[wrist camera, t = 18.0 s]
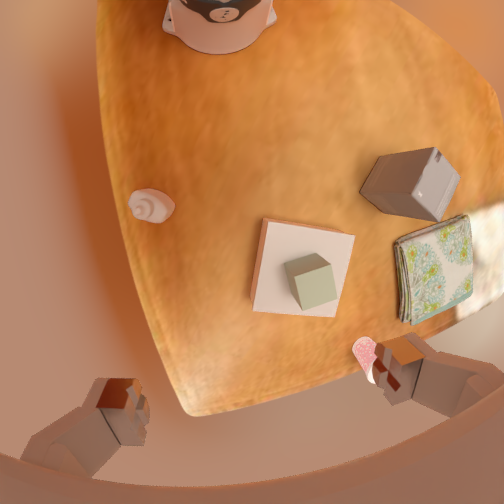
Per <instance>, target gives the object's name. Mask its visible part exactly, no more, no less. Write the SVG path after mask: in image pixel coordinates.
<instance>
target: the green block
mask: <svg viewBox="0 0 504 504" xmlns="http://www.w3.org/2000/svg"><path fill="white" fill-rule="evenodd" d="M284 266H285V270H286V274H287V278H288V282H289V286H290V290H291V294H292V295H293V297H294V298H295V300H296V302H297V303H298V305H299V306H300V308H301V309H302V311H304V310H307V309H310V308H313V307H316V306H319V305H322V304H324V303H327V302H330V301H333V300H336V299H338V298H337V292H336V287H335V281H334V276H333V271H332V266H331V264H330V263H329V262H328V261H326V260H325V259H324V258H322V257H321V256H320V255H319V254H317V253H313V254H310V255H307V256H304V257H301V258H298V259H294V260H291V261H288V262H285V263H284Z"/></svg>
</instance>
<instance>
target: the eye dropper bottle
mask: <svg viewBox="0 0 504 504" xmlns="http://www.w3.org/2000/svg"><path fill="white" fill-rule="evenodd" d="M128 205H129V207H130V209H131V210H132V214H133V215H134V217H135V218H137V219H139V220H145V221H148V222H152V223H162V222H164V221H165V220H166V219H167V218H169V217H170V216H171V214H172V213H173V211H174V209H175V203H174V202H173V201H172V199H171V198H170V197H168V196H167V195H166V194H164V193H163V192H161V191H158V190H155V189H150V188H147V189H141V190H136V191H134V192H133V193H132V194H131V196H130V198H129V200H128Z"/></svg>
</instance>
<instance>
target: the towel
mask: <svg viewBox="0 0 504 504" xmlns="http://www.w3.org/2000/svg"><path fill="white" fill-rule="evenodd" d="M395 242H396V245H395V246H394V249H395V256H396V265H397V276H398V286H399V294H400V308H399V311H400V312H399V318H400V320H401V322H402V323H404V322H405V323H406V322H409V321H411V323H410V325H411V326H413V325H416V324H418V323H420V322H422V321H424V320H426V319H428V318H430V317H432V316H434V315H436V314H438V313H440V312H443V311H445V310H447V309H449V308H451V307H453V306H455V305H457V304H459V303H460V302H462V301H464V300H465V299H467V298H468V297H470V296H471V294H472V293H473V248H472V235H471V226H470V219H469V216H468V215H460V216H457V217H456V218H454V219H449V220H447V221H444V222H441V223H438V224H435V225H432V226H430V227H427V228H424V229H421V230H419V231H416V232H412V233H409V234H407V235H405V236H402V237H401V238H399V239H398V240H396V241H395Z"/></svg>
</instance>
